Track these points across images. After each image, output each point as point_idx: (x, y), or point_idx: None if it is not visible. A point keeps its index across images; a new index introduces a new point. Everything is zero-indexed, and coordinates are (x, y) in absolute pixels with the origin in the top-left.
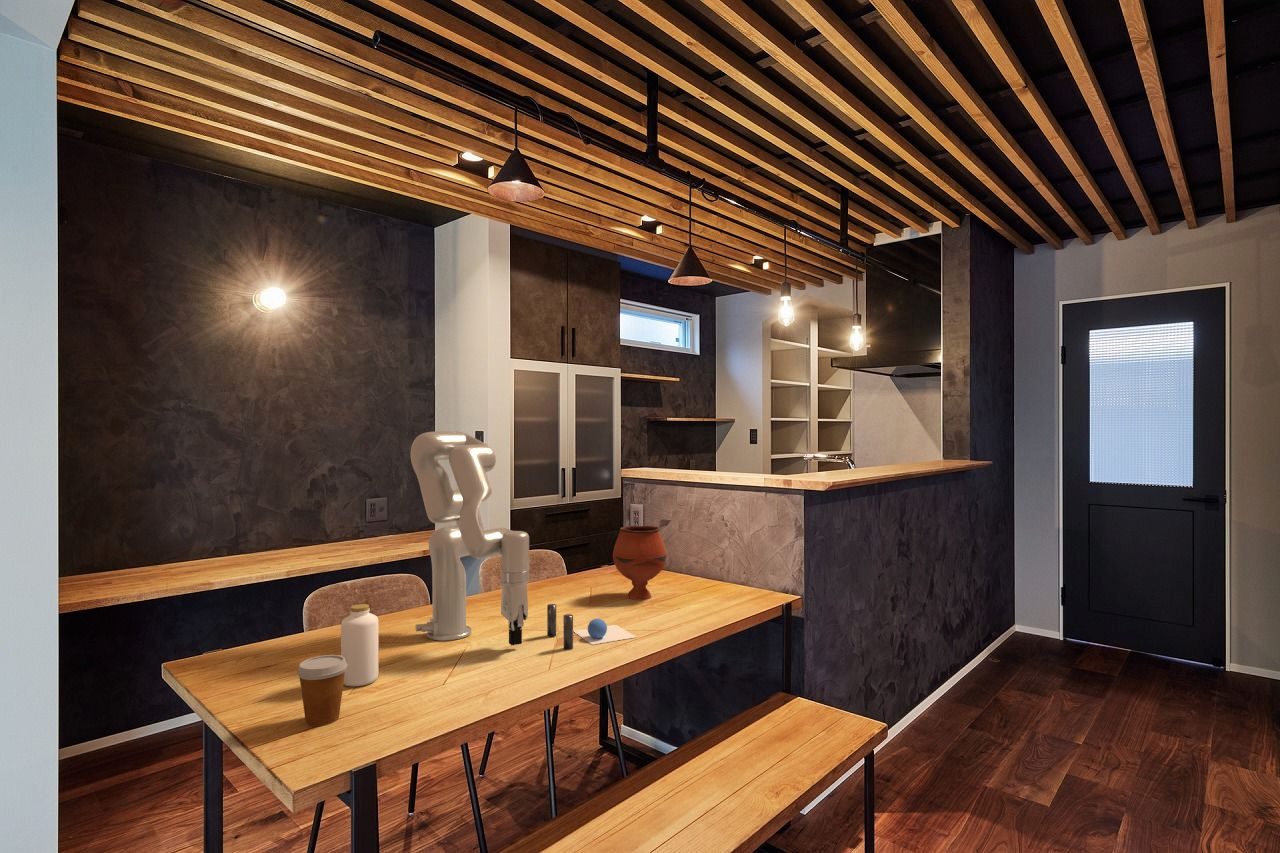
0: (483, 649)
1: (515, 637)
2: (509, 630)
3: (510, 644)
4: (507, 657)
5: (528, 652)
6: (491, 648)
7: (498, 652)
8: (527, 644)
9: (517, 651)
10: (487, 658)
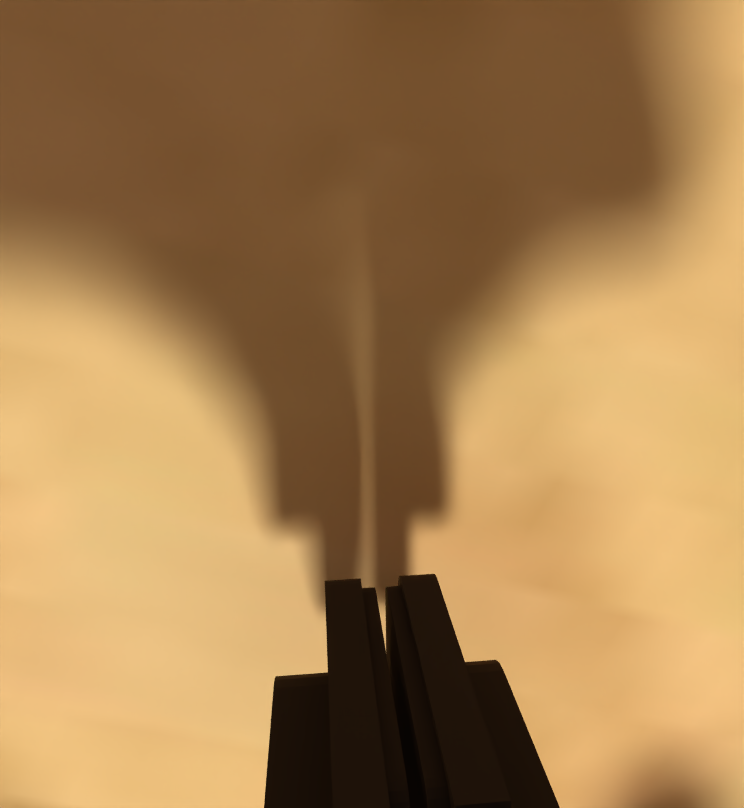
0: (643, 120)
1: (275, 763)
2: (452, 790)
3: (338, 580)
4: (13, 403)
5: (141, 730)
6: (614, 272)
7: (345, 329)
8: None
9: (256, 608)
10: (86, 42)
